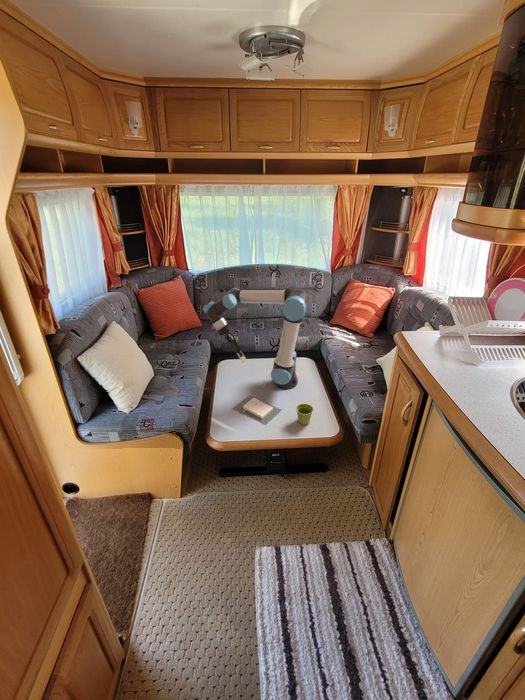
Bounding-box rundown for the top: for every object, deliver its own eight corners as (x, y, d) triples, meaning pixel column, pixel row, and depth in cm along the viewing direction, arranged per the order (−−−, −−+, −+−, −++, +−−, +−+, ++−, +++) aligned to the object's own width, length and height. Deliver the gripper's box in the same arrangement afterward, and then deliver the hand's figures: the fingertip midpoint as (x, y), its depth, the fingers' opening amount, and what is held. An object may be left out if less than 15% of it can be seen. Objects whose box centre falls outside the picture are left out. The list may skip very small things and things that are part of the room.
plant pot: (294, 415, 194) (295, 403, 189) (311, 415, 193) (312, 403, 189) (295, 426, 185) (296, 414, 181) (313, 427, 185) (314, 414, 181)
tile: (242, 406, 195) (262, 416, 188) (253, 397, 202) (273, 407, 195) (242, 408, 196) (262, 419, 189) (253, 399, 203) (273, 410, 196)
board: (231, 410, 198) (231, 407, 197) (249, 396, 210) (249, 394, 209) (265, 426, 186) (265, 423, 185) (282, 411, 197) (282, 408, 196)
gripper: (215, 331, 203) (236, 365, 205) (218, 329, 190) (242, 364, 193) (225, 325, 205) (247, 358, 208) (230, 322, 192) (252, 357, 195)
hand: (244, 361), depth 200 cm, fingers closed
